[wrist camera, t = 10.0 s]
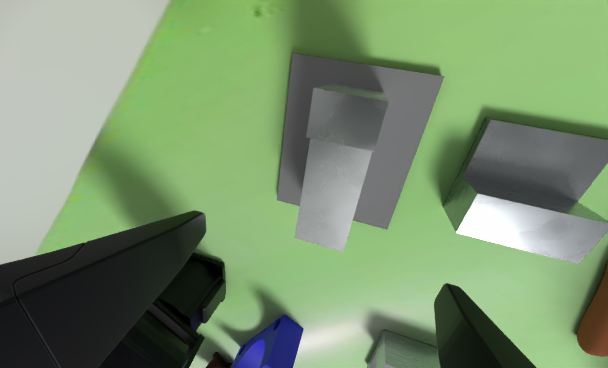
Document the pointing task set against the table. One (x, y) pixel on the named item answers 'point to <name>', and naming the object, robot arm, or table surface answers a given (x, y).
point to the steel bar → (337, 160)
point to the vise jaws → (516, 206)
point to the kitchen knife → (596, 322)
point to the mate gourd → (218, 362)
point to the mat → (392, 138)
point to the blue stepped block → (271, 346)
